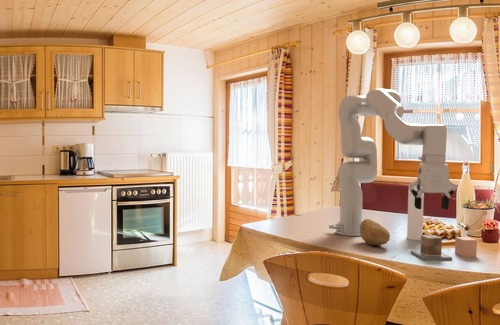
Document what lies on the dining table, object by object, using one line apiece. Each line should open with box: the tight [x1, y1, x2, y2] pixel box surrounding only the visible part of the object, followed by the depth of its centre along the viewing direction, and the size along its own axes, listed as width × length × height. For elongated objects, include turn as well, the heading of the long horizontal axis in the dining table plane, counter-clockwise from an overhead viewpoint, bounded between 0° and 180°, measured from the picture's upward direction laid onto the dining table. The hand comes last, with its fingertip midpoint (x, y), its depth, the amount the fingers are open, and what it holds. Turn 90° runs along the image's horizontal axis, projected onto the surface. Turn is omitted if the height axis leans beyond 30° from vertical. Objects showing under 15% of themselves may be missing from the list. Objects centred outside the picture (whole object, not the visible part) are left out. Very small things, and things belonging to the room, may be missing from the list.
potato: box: [360, 218, 391, 246], centre depth 170 cm, size 9×16×9 cm, turn 10°
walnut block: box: [420, 234, 443, 255], centre depth 154 cm, size 5×5×6 cm
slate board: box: [410, 249, 453, 261], centre depth 154 cm, size 10×10×1 cm
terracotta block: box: [454, 236, 478, 258], centre depth 157 cm, size 5×5×6 cm
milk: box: [406, 185, 425, 242], centre depth 183 cm, size 6×6×22 cm
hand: (431, 208), depth 153 cm, fingers open, 9 cm apart
